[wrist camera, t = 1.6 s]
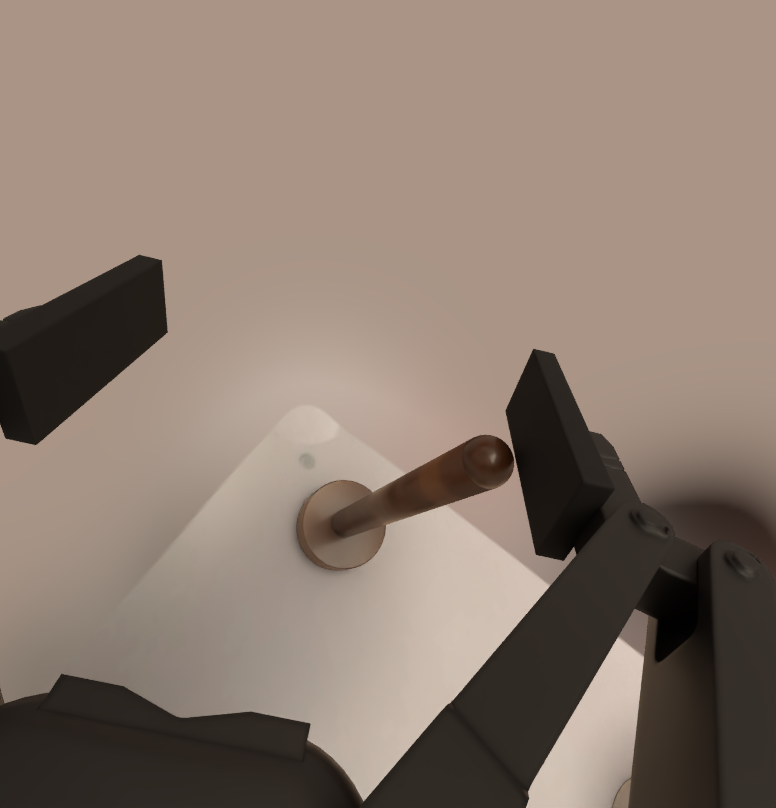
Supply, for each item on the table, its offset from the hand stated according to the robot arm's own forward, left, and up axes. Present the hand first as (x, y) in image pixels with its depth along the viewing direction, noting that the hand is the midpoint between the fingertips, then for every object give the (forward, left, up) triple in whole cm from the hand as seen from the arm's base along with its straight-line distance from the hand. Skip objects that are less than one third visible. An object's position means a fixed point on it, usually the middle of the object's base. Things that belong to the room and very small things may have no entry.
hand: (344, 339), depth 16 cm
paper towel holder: (+6, +1, -17) cm, 18 cm away
